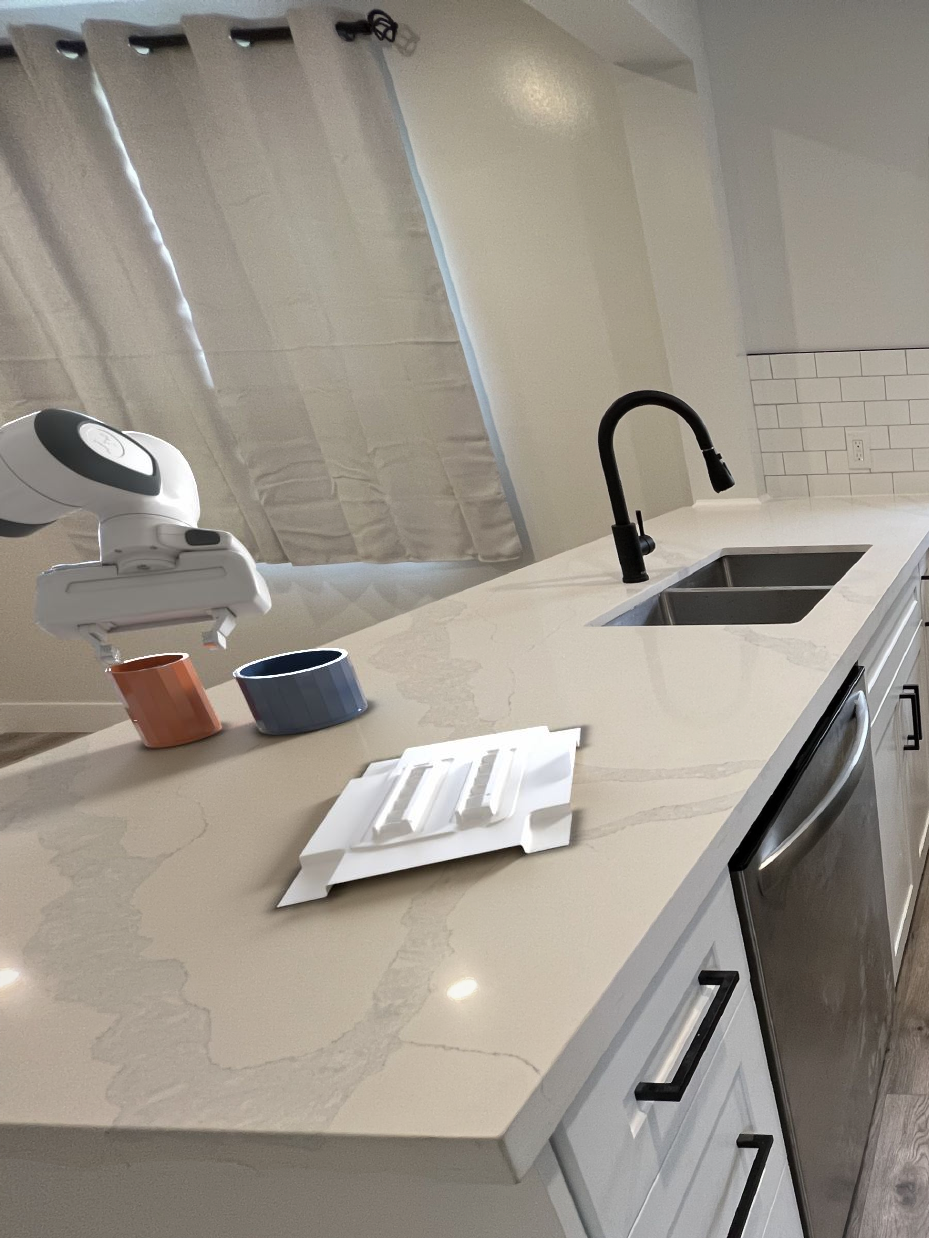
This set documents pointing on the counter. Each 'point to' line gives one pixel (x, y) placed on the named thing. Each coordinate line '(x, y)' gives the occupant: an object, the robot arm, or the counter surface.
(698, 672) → the counter surface
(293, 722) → the stack cup
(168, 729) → the terracotta cup
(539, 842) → the tray
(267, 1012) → the counter surface
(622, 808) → the counter surface
